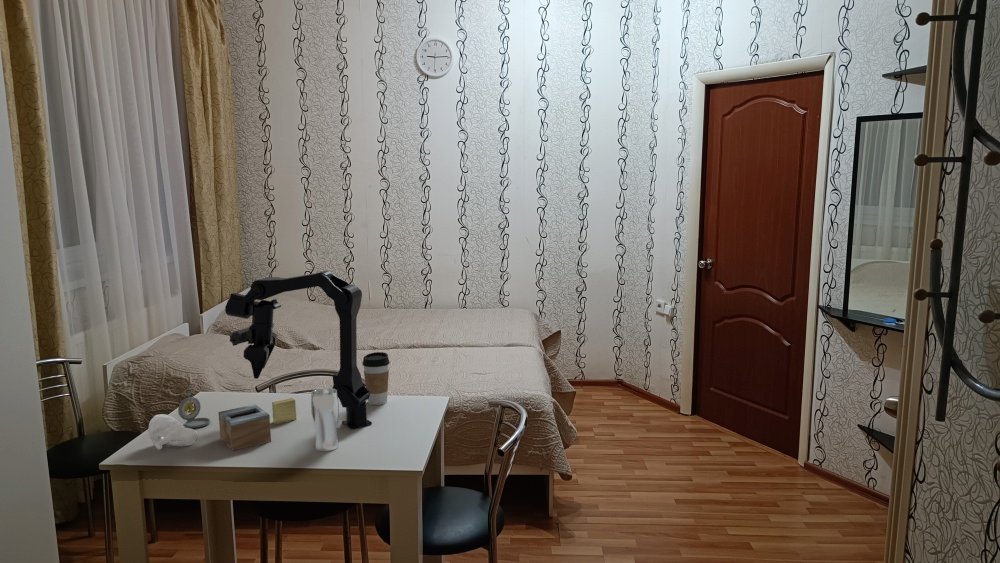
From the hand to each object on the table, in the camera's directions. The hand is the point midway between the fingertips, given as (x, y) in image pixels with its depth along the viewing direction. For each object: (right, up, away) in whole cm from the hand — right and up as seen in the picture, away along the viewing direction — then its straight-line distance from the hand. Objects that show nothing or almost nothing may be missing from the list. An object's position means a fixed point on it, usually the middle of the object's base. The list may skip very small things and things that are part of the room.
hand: (259, 373), depth 211 cm
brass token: (+8, -14, 0) cm, 16 cm away
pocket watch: (-18, -15, -2) cm, 23 cm away
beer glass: (+25, -17, -21) cm, 36 cm away
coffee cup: (+32, -11, +16) cm, 37 cm away
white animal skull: (-16, -17, -18) cm, 30 cm away
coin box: (+1, -16, -15) cm, 22 cm away
